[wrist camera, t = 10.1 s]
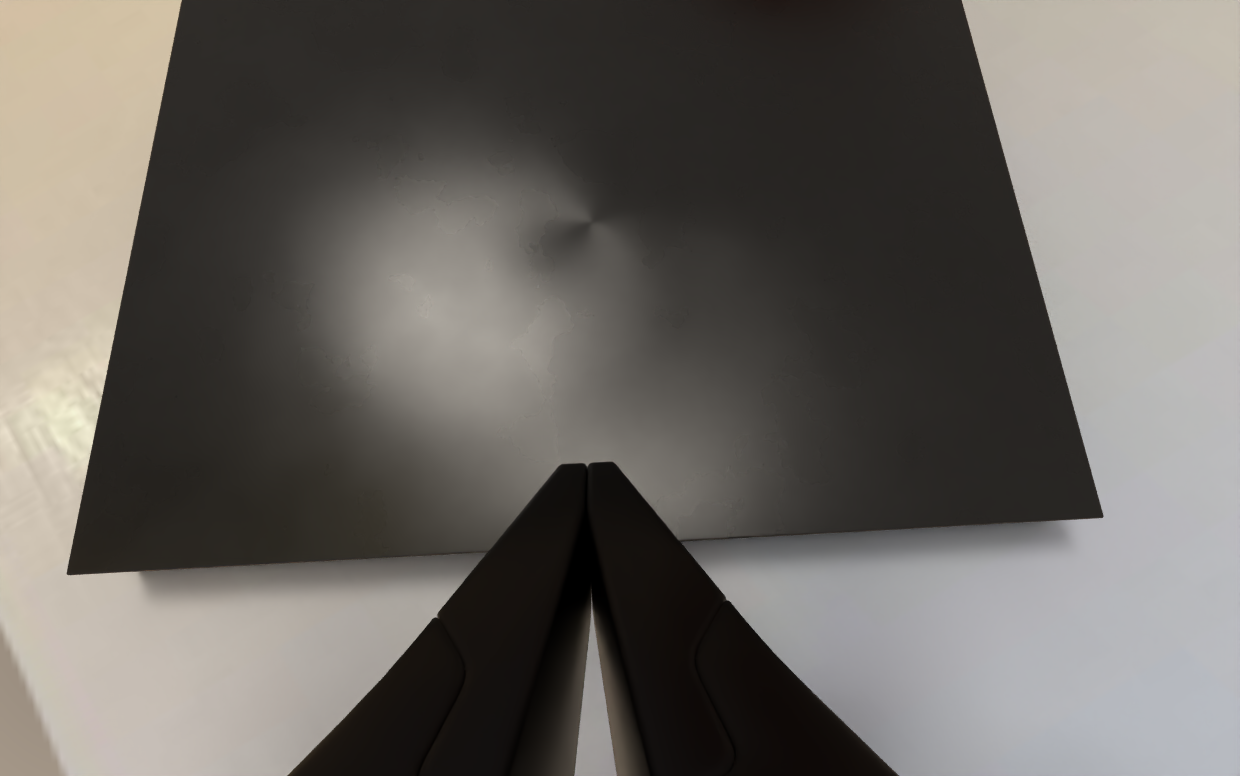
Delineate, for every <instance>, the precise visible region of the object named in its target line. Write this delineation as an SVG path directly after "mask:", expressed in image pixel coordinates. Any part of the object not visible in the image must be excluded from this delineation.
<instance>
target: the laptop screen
mask: <svg viewBox="0 0 1240 776" xmlns="http://www.w3.org/2000/svg"><path fill="white" fill-rule="evenodd" d="M610 461H611V462H614V463H615V464H616V465H617V466H618V467H619V468H620V470H621V471H622V472H623V473H624V474H625V476H626V477H627V478H628V479H629V481H630V482H631V483H632V484H633V485H634V487H635V488H636V489H637V490H638V491H639V493H640V494H641V495H642V496H643V497H644V499H645V500H646V501H647V502H648V504H649V505H650V506H651V507H652V508H653V510H654V511H655V512H656V513H657V514H658V516H659V517H660V518H661V519H662V520H663V522H664V523H665V524H666V525H667V526H668V528H669V529H670V530H671V531H672V533H673V534H674V535H675V536H676V537H677V539H678V540H679V541H696V540H714V539H732V538H750V537H768V536H786V535H804V534H822V533H840V532H858V531H876V530H894V529H913V528H931V527H949V526H967V525H985V524H1003V523H1021V522H1039V521H1057V520H1075V519H1093V518H1103V513H1102V509H1101V505H1100V502H1099V498H1098V495H1097V491H1096V487H1095V484H1094V480H1093V476H1092V473H1091V469H1090V465H1089V462H1088V458H1087V455H1086V451H1085V447H1084V444H1083V440H1082V436H1081V433H1080V429H1079V425H1078V422H1077V418H1076V415H1075V411H1074V407H1073V404H1072V400H1071V396H1070V393H1069V389H1068V385H1067V382H1066V378H1065V375H1064V371H1063V367H1062V364H1061V360H1060V356H1059V353H1058V349H1057V345H1056V342H1055V338H1054V335H1053V331H1052V327H1051V324H1050V320H1049V316H1048V313H1047V309H1046V305H1045V302H1044V298H1043V295H1042V291H1041V287H1040V284H1039V280H1038V276H1037V273H1036V269H1035V265H1034V262H1033V258H1032V255H1031V251H1030V247H1029V244H1028V240H1027V236H1026V233H1025V229H1024V225H1023V222H1022V218H1021V215H1020V211H1019V207H1018V204H1017V200H1016V196H1015V193H1014V189H1013V185H1012V182H1011V178H1010V175H1009V171H1008V167H1007V164H1006V160H1005V156H1004V153H1003V149H1002V145H1001V142H1000V138H999V135H998V131H997V127H996V124H995V120H994V116H993V113H992V109H991V105H990V102H989V98H988V95H987V91H986V87H985V84H984V80H983V76H982V73H981V69H980V65H979V62H978V58H977V55H976V51H975V47H974V44H973V40H972V36H971V33H970V29H969V25H968V22H967V18H966V15H965V11H964V7H963V4H962V0H182V2H181V7H180V12H179V17H178V22H177V27H176V32H175V37H174V42H173V47H172V52H171V57H170V62H169V67H168V72H167V77H166V81H165V86H164V91H163V96H162V101H161V106H160V111H159V116H158V121H157V126H156V131H155V136H154V141H153V146H152V151H151V156H150V161H149V166H148V171H147V176H146V181H145V186H144V191H143V196H142V201H141V206H140V211H139V216H138V221H137V226H136V231H135V236H134V241H133V246H132V251H131V256H130V261H129V266H128V271H127V276H126V281H125V286H124V290H123V295H122V300H121V305H120V310H119V315H118V320H117V325H116V330H115V335H114V340H113V345H112V350H111V355H110V360H109V365H108V370H107V375H106V380H105V385H104V390H103V395H102V400H101V405H100V410H99V415H98V420H97V425H96V430H95V435H94V440H93V445H92V450H91V455H90V460H89V465H88V470H87V475H86V480H85V485H84V490H83V494H82V499H81V504H80V509H79V514H78V519H77V524H76V529H75V534H74V539H73V544H72V549H71V554H70V559H69V564H68V569H67V575H81V574H99V573H117V572H136V571H154V570H172V569H190V568H208V567H226V566H244V565H262V564H280V563H298V562H316V561H334V560H352V559H370V558H389V557H407V556H425V555H443V554H461V553H479V552H488V551H489V550H490V549H491V548H492V546H493V545H494V544H495V543H496V542H497V540H498V539H499V538H500V537H501V535H502V534H503V533H504V532H505V531H506V529H507V528H508V527H509V526H510V525H511V523H512V522H513V521H514V520H515V518H516V517H517V516H518V515H519V514H520V512H521V511H522V510H523V509H524V507H525V506H526V505H527V504H528V503H529V501H530V500H531V499H532V498H533V496H534V495H535V494H536V493H537V492H538V490H539V489H540V488H541V487H542V486H543V484H544V483H545V482H546V481H547V479H548V478H549V477H550V476H551V475H552V473H553V472H554V471H555V470H556V468H557V467H558V466H559V465H561V464H570V463H584V464H586V466H588V465H589V464H590V463H592V462H610Z"/></svg>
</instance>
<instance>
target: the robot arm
mask: <svg viewBox="0 0 1240 776" xmlns="http://www.w3.org/2000/svg"><path fill="white" fill-rule="evenodd" d="M591 589H592V591H591ZM591 598H592V605H593V616H594V624H595V631H596V638H597V644H598V651H599V658H600V665H601V671H602V678H603V685H604V691H605V698H606V705H607V712H608V718H609V725H610V732H611V739H612V745H613V752H614V759H615V765H616V772H617V776H899V775H898V774H897V773H896V772H894V771H893V770H892V769H891V768H890V767H889V766H888V765H887V764H886V763H885V762H884V761H883V760H882V759H881V758H880V757H879V756H878V755H877V754H876V753H875V752H874V751H873V750H872V749H871V748H870V747H869V746H868V745H867V744H866V743H865V742H863V741H862V740H861V739H860V738H859V737H858V736H857V735H856V734H855V733H854V732H853V731H852V730H851V729H850V728H849V727H848V726H847V725H846V724H845V723H844V722H843V721H842V720H841V719H840V718H839V717H838V716H837V715H836V714H835V713H834V712H832V711H831V710H830V709H829V708H828V707H827V706H826V705H825V704H824V703H823V702H822V701H821V700H820V699H819V698H818V697H817V696H816V695H815V694H814V693H813V692H812V691H811V690H810V689H809V688H808V687H807V686H806V685H805V684H804V683H803V682H802V681H801V680H800V679H799V678H798V677H797V676H796V675H795V674H794V673H793V672H792V671H791V670H790V669H789V668H788V667H787V666H786V665H785V664H784V663H783V662H782V661H781V660H780V659H779V658H778V657H777V656H776V655H775V654H774V653H773V651H772V650H771V649H770V648H769V647H768V646H767V645H766V643H765V642H764V641H763V640H762V639H761V638H760V637H759V636H758V634H757V633H756V632H755V631H754V630H753V629H752V628H751V626H750V625H749V624H748V623H747V622H746V621H745V619H744V618H743V617H742V616H741V615H740V613H739V612H738V611H737V610H736V608H735V607H734V606H733V605H732V603H731V602H730V601H727V600H726V597H725V595H724V594H723V593H722V592H721V591H720V589H719V588H718V587H717V586H716V585H715V583H714V582H713V581H712V580H711V578H710V577H709V576H708V575H707V574H706V572H705V571H704V570H703V569H702V568H701V566H700V565H699V564H698V563H697V562H696V560H695V559H694V558H693V557H692V556H691V554H690V553H689V552H688V551H687V549H686V548H685V547H684V546H683V545H682V543H681V542H680V541H679V540H678V539H677V537H676V536H675V535H674V534H673V533H672V531H671V530H670V529H669V528H668V526H667V525H666V524H665V523H664V522H663V520H662V519H661V518H660V517H659V516H658V514H657V513H656V512H655V511H654V510H653V508H652V507H651V506H650V505H649V504H648V502H647V501H646V500H645V499H644V497H643V496H642V495H641V494H640V493H639V491H638V490H637V489H636V488H635V487H634V485H633V484H632V483H631V482H630V481H629V479H628V478H627V477H626V476H625V474H624V473H623V472H622V471H621V470H620V468H619V467H618V466H617V465H616V464H615V463H614V462H611V461H610V462H592V463H590V464H589V465H588V466H586V464H584V463H570V464H561V465H559V466H558V467H557V468H556V470H555V471H554V472H553V473H552V475H551V476H550V477H549V478H548V479H547V481H546V482H545V483H544V484H543V486H542V487H541V488H540V489H539V490H538V492H537V493H536V494H535V495H534V496H533V498H532V499H531V500H530V501H529V503H528V504H527V505H526V506H525V507H524V509H523V510H522V511H521V512H520V514H519V515H518V516H517V517H516V518H515V520H514V521H513V522H512V523H511V525H510V526H509V527H508V528H507V529H506V531H505V532H504V533H503V534H502V535H501V537H500V538H499V539H498V540H497V542H496V543H495V544H494V545H493V546H492V548H491V549H490V550H489V551H488V553H487V554H486V555H485V556H484V557H483V559H482V560H481V561H480V562H479V563H478V565H477V566H476V567H475V568H474V570H473V571H472V572H471V573H470V574H469V576H468V577H467V578H466V579H465V581H464V582H463V583H462V584H461V585H460V587H459V588H458V589H457V590H456V592H455V593H454V594H453V595H452V596H451V598H450V599H449V600H448V601H447V602H446V604H445V605H444V606H443V607H442V609H441V610H440V611H439V612H438V614H437V617H438V618H433V619H432V620H431V622H430V623H429V624H428V625H427V626H426V628H425V629H424V630H423V631H422V633H421V634H420V635H419V636H418V637H417V639H416V640H415V641H414V642H413V643H412V645H411V646H410V647H409V648H408V649H407V650H406V651H405V653H404V654H403V655H402V656H401V657H400V658H399V660H398V661H397V662H396V663H395V664H394V665H393V666H392V668H391V669H390V670H389V671H388V672H387V673H386V675H385V676H384V677H383V678H382V679H381V680H380V681H379V682H378V683H377V684H376V685H375V686H374V687H373V689H372V690H371V691H370V692H369V693H368V694H367V695H366V696H365V697H364V698H363V699H362V700H361V701H360V702H359V703H358V704H357V705H356V706H355V707H354V709H353V710H352V711H351V712H350V713H349V714H348V715H347V716H346V717H345V718H344V719H343V720H342V721H341V722H340V723H339V724H338V725H337V726H336V727H335V728H334V729H333V730H332V731H331V732H330V733H329V734H328V735H327V736H326V737H325V738H324V739H323V740H322V741H321V742H320V743H319V744H318V745H317V746H316V747H315V748H314V749H313V750H312V751H311V752H310V753H309V754H308V756H307V757H306V758H305V759H304V760H303V761H302V762H301V763H300V764H299V765H298V766H297V767H296V768H295V769H294V770H293V771H292V772H291V773H290V774H289V775H288V776H574V773H575V763H576V754H577V744H578V735H579V726H580V716H581V707H582V697H583V688H584V678H585V669H586V659H587V650H588V641H589V631H590V620H591Z"/></svg>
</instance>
